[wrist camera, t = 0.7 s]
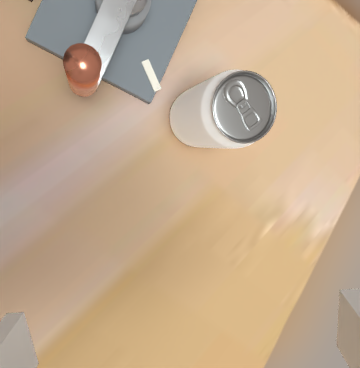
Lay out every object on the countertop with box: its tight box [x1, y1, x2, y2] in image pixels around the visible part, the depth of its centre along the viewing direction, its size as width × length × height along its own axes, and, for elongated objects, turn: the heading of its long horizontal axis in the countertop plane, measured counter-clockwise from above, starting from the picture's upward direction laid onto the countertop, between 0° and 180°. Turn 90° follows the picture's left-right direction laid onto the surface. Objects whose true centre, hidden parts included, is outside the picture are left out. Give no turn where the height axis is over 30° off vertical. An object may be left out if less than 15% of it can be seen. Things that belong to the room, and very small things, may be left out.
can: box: [170, 70, 277, 148], centre depth 31 cm, size 6×6×12 cm
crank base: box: [25, 0, 197, 104], centre depth 31 cm, size 13×14×4 cm
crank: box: [63, 0, 147, 96], centre depth 25 cm, size 12×4×8 cm, turn 155°
